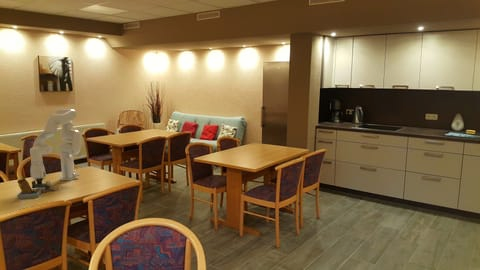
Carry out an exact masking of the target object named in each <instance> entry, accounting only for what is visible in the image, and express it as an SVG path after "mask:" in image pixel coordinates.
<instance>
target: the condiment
mask: <svg viewBox="0 0 480 270" xmlns="http://www.w3.org/2000/svg"><path fill="white" fill-rule="evenodd" d="M17 184H18V187H19V189H20V190H21V191H22V192H23V194H32V193H34V192H36V191H37V190H35V189H36V188H32V186H31V185H30V183H29V181H27V178H25V177H22V178H19V179H18V180H17ZM32 189H33V190H32ZM21 191H20V192H21Z"/></svg>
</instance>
